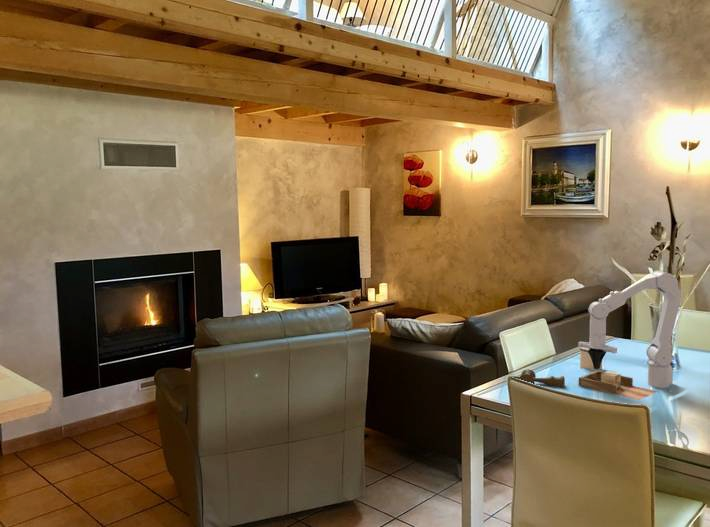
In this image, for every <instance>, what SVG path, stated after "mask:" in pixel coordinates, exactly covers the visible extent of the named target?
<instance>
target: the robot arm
mask: <svg viewBox="0 0 710 527" xmlns="http://www.w3.org/2000/svg"><path fill="white" fill-rule="evenodd" d="M647 289H648V290H659V292H660V293H661V295H662V296H663V297H664V300H663V303H662V308H661V312H660V314H659V320H658V325H657V328H656V332H655V336H654V338H653V339H652V340H651V341H650V344H649V346H648V347H647V348H646V356H647V358H648V359H649V360H648V362H647V385H648V386H649V387H652V388H657V389H658V388H659V389H665V388H669V387H670V386H671V385H673V383H674V382H673V381H674V380H673V378H674V369H673V367H672V365H671V363H672V362H673V353H672V351H673V346H672V342H671V340H672V337H673V332H674V328H675V325H676V320H677V316H678V313H679V309H680V308H679V307H680V304H681V301H682V293H681V290H680V289H681V288H680V286H679V281H678V279H677V278H676V277H675V276H674V275H673V274H672V273H669V272H665V271H663V270H657V269H656V270H654V271H652V272H651V273H648V274H646V275H645V276H643V277H642V278H640V279H638V280H637V281H636V282H634V283H633V284H631V285H629V286H628V287H626V288H624V289H623V290H622V291H618V290H615V291H613V290H612V291H610V292H609V294H608V295H606V296H604V297H603V298H599V299H598V301H593V302H591V303H590V304H589V307H588V308H587V310H588V313H589V342H588V341H578V342H577V343H578V344H577V345H578V348H580V347H584V348H589V350H588V353H589V355H590V357H591V359H592V362H593V367H594V369H593V370H600V369H599V368H600V365H601V362H602V363H603V359H604V357H605V356H606V354H607V353H611V354H613V355H614V354H617V353H618V347H614V346H611V345H609V344H606V342H607V340H606V339H607V337H606V334H607V333H606V331H607V321H606V320H607V317H608V316H609V313H611V312H613V311H615V310H616V309H618V308H620V307H622V306H623V305H625V304H626V301H627V299H629V298H631V297H633V296H635V295H637V294H639V293H641V292H644V291H645V290H647Z"/></svg>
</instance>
